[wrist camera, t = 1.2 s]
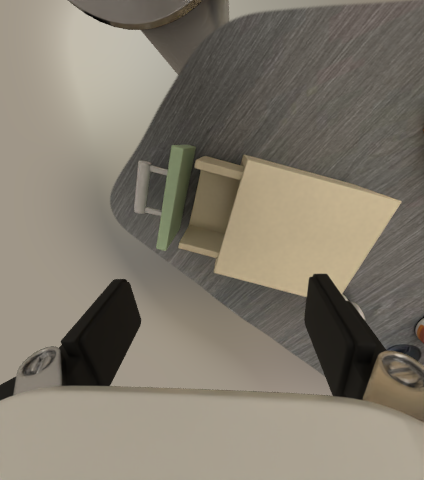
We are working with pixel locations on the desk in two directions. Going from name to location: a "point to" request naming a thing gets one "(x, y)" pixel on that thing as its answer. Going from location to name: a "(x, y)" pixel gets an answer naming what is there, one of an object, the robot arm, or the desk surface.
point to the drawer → (205, 204)
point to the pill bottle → (420, 330)
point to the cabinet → (299, 227)
